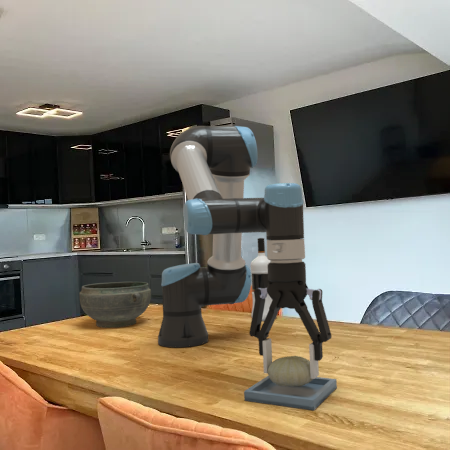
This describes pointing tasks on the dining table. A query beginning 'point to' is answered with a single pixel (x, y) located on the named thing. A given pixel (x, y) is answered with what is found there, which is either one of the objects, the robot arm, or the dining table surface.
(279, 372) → the sea urchin shell
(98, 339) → the dining table surface
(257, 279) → the vodka
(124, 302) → the bowl
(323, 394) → the tray
